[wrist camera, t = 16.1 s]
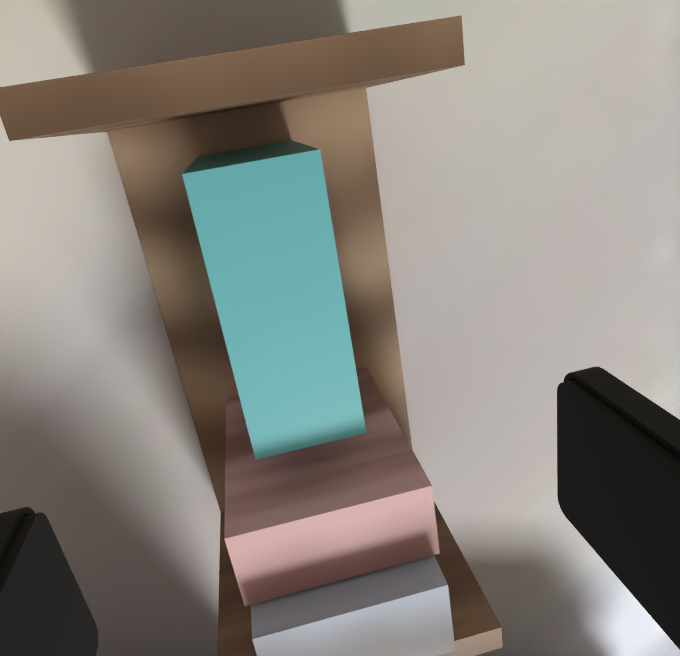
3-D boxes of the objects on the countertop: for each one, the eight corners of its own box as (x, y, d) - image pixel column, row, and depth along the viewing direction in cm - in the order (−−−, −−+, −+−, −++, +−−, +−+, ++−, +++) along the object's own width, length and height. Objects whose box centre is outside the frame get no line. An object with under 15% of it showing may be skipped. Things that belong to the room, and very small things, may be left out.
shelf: (105, 103, 26) (-17, 87, 13) (355, 63, 27) (467, 12, 14) (225, 511, 35) (223, 740, 22) (408, 466, 36) (507, 655, 23)
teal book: (197, 156, 26) (182, 174, 18) (291, 140, 26) (320, 149, 18) (248, 366, 30) (255, 459, 22) (329, 348, 31) (366, 432, 22)
